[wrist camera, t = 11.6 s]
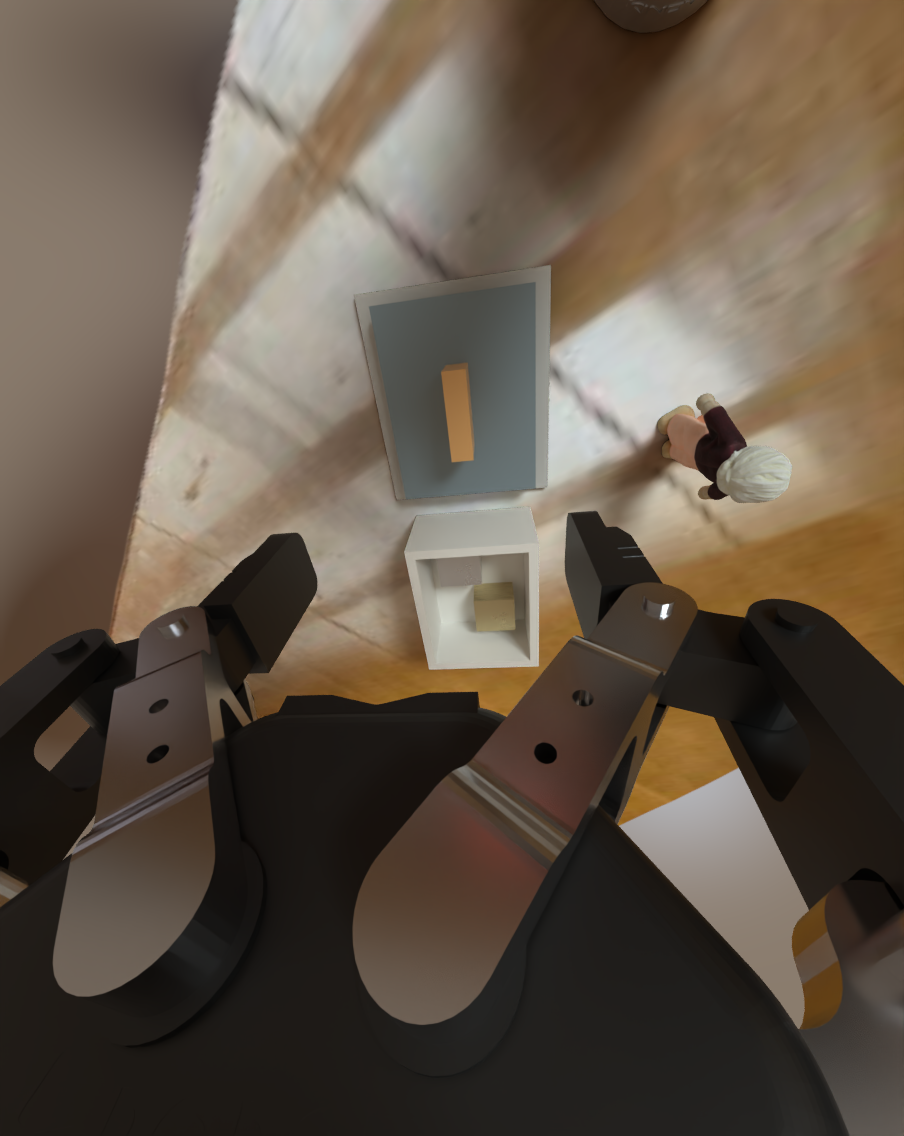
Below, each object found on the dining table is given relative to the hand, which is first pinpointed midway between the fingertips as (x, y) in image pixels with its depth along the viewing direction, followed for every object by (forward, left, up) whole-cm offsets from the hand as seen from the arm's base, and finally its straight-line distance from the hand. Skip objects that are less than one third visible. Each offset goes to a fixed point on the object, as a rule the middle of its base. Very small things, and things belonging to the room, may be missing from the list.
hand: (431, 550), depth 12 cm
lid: (0, 0, -24) cm, 24 cm away
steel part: (+14, -2, -24) cm, 27 cm away
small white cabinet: (+17, 0, -24) cm, 30 cm away
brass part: (+20, +1, -24) cm, 31 cm away
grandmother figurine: (+4, +17, -25) cm, 30 cm away
